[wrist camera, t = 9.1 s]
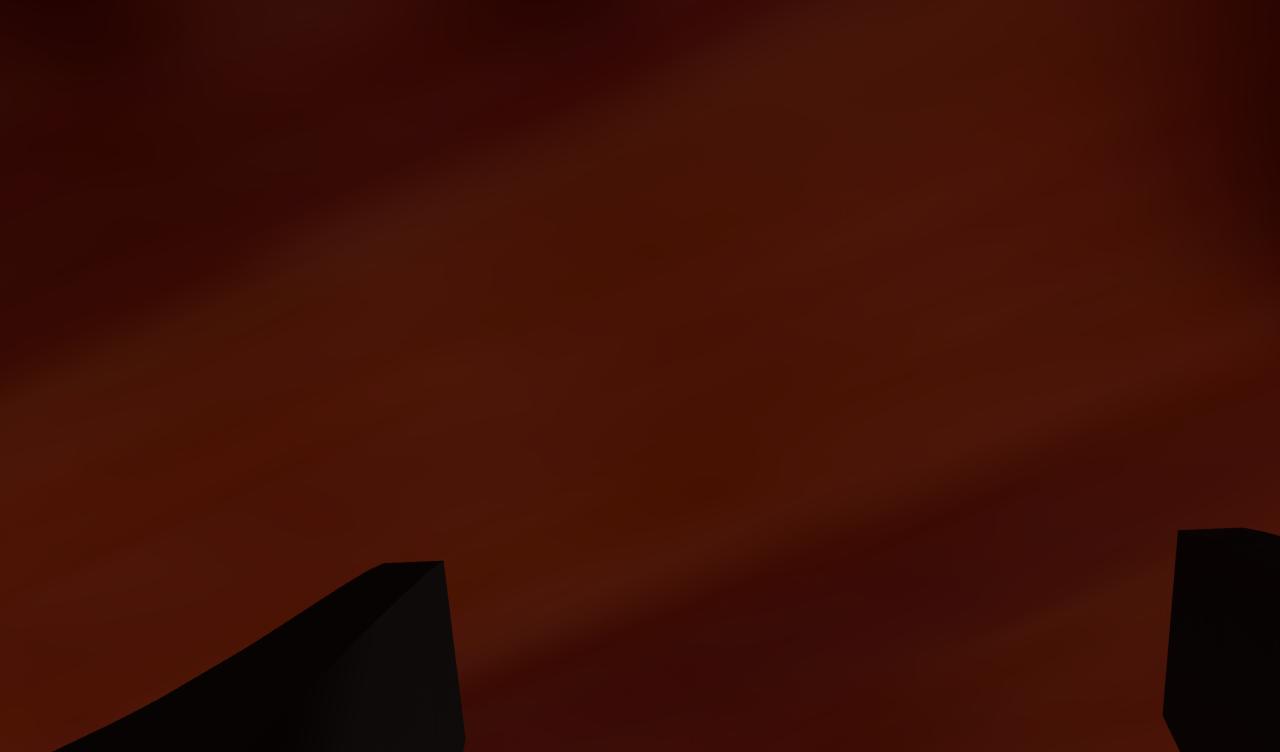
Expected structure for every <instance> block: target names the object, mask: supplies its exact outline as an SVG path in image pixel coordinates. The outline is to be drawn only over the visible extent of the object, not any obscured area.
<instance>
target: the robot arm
mask: <svg viewBox="0 0 1280 752" xmlns="http://www.w3.org/2000/svg"><path fill="white" fill-rule="evenodd" d="M1163 717H1164V719H1165V721H1166V724H1167V726H1168V728H1169V730H1170V732H1171V734H1172V736H1173V738H1174V740H1175V742H1176V744H1177V746H1178V748H1179V751H1180V752H1280V536H1278V535H1274V534H1270V533H1266V532H1262V531H1257V530H1252V529H1248V528H1223V529H1199V530H1178V537H1177V549H1176V561H1175V573H1174V585H1173V597H1172V609H1171V621H1170V633H1169V645H1168V657H1167V669H1166V681H1165V693H1164V705H1163ZM464 743H465V731H464V723H463V715H462V707H461V699H460V691H459V682H458V674H457V666H456V658H455V650H454V642H453V634H452V625H451V617H450V609H449V601H448V593H447V585H446V576H445V568H444V561H427V562H403V563H384V564H381V565H379V566H377V567H375V568H372V569H370V570H369V571H367V572H365V573H363V574H361V575H360V576H358V577H356V578H355V579H353V580H351V581H350V582H348V583H346V584H345V585H343V586H342V587H340V588H338V589H337V590H335V591H334V592H332V593H331V594H329V595H327V596H326V597H324V598H323V599H321V600H320V601H318V602H317V603H315V604H314V605H312V606H311V607H309V608H308V609H306V610H304V611H303V612H301V613H300V614H298V615H297V616H295V617H294V618H292V619H290V620H289V621H287V622H286V623H284V624H283V625H281V626H280V627H278V628H276V629H275V630H273V631H272V632H270V633H269V634H267V635H266V636H264V637H263V638H261V639H259V640H258V641H256V642H255V643H253V644H252V645H250V646H248V647H247V648H245V649H243V650H242V651H240V652H238V653H237V654H235V655H233V656H231V657H230V658H228V659H226V660H225V661H223V662H221V663H220V664H218V665H216V666H214V667H213V668H211V669H209V670H208V671H206V672H204V673H203V674H201V675H199V676H197V677H196V678H194V679H192V680H191V681H189V682H187V683H186V684H184V685H182V686H180V687H179V688H177V689H175V690H174V691H172V692H170V693H169V694H167V695H165V696H163V697H161V698H160V699H158V700H156V701H154V702H152V703H150V704H149V705H147V706H145V707H143V708H141V709H139V710H137V711H135V712H133V713H131V714H129V715H127V716H125V717H124V718H122V719H120V720H118V721H116V722H114V723H112V724H110V725H108V726H105V727H103V728H101V729H99V730H97V731H95V732H93V733H91V734H89V735H87V736H84V737H82V738H80V739H78V740H76V741H74V742H72V743H70V744H68V745H66V746H63V747H61V748H59V749H57V750H55V751H53V752H463V749H464Z"/></svg>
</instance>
